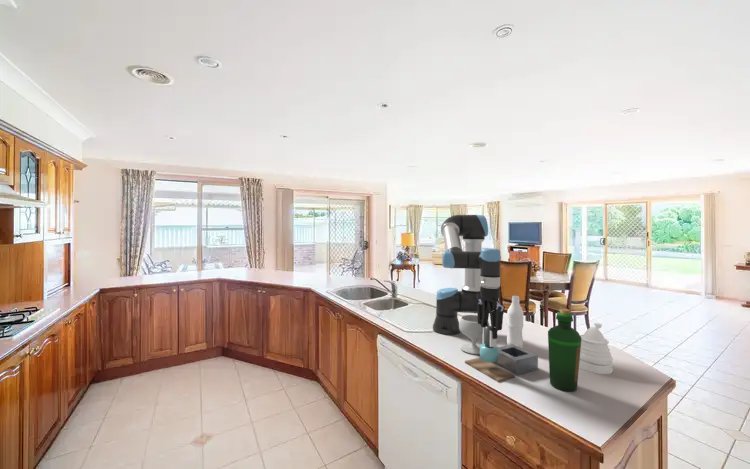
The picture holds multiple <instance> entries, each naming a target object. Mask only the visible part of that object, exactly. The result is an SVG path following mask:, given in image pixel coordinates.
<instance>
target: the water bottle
mask: <svg viewBox="0 0 750 469" xmlns="http://www.w3.org/2000/svg"><path fill="white" fill-rule="evenodd" d="M511 297H512V298H511V304H510V306H509V307H508V309H507V313H506V314H507V319H506V320H507V321H506V322H507V323H506V325H507V335H506V343H507V344H506V346H507V345H512V344H513V345H515V346H517V347H520V348H522V349H523V346H524V337H523V327H524V310H523V308H522V306H521V304H520V302H521V301H520V296H519V295H512V296H511Z"/></svg>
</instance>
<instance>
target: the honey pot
mask: <svg viewBox="0 0 750 469" xmlns="http://www.w3.org/2000/svg"><path fill="white" fill-rule="evenodd" d="M602 327H603V324H602V323H599V322H594V325H593V326H591V327H589V328H588V329H587V330H585V332H584V333H583V334H579V335H580V336H581V350H580V361H579V369H581V370H583V371H586V372H589V373H593V374H598V375H610V374H612V373H613V370H614V369H613V367H614V364H613V362H614V361H613V360H614V359H613V358H614V357H612V353H611V350H610V348H609V346H608V344H609V343H610V342H609V340H608V339H607V338H605V336H604V335H603V333H602V332H601V331H600V329H601V328H602Z"/></svg>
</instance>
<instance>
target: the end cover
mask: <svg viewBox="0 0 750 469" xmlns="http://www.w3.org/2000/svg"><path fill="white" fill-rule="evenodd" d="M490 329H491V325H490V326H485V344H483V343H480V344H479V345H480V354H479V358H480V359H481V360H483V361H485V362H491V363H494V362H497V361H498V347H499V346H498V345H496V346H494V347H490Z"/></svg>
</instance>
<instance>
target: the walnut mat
mask: <svg viewBox="0 0 750 469" xmlns="http://www.w3.org/2000/svg"><path fill="white" fill-rule="evenodd" d="M464 363H465V364H466V365H468V366H470V367H472V368H473V369H475V370H476V371H478V372H480V373H482V374H484V375H485V376H487V377H488V378H490V379H492V380H494V382H495V381H496V382H497V383H499V382H503V381H506V380H509V379H513V378H516V376H515V375H514V374H512V373H510V372H508V371H506V370H504V369H502V368H500V367H499V366H497V365H495V364H493V363H491V362H485V361H483V360H481V359H480V357H476V358H471V359H468V360H467V359H466V360H464Z"/></svg>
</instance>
